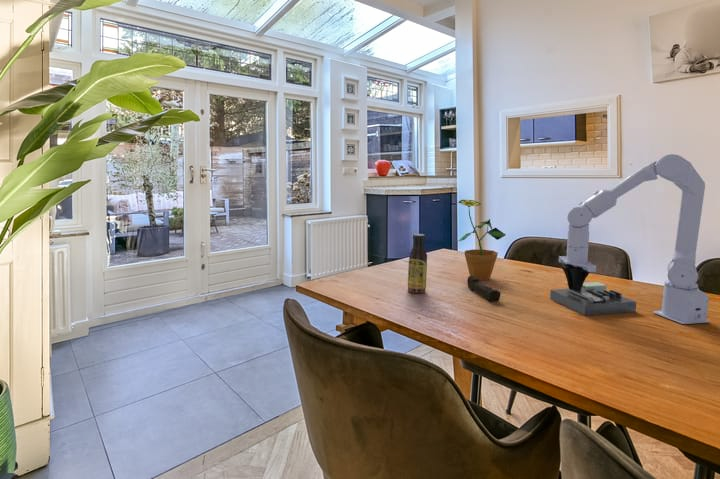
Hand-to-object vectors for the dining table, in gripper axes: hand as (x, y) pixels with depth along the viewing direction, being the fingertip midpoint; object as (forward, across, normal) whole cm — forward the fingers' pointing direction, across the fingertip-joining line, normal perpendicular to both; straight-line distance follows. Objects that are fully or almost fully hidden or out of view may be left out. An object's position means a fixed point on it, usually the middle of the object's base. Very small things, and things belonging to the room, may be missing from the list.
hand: (574, 289), depth 127 cm
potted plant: (+4, -34, -15) cm, 37 cm away
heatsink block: (+4, +4, +3) cm, 6 cm away
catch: (+1, 0, +6) cm, 6 cm away
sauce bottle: (+4, -21, -44) cm, 49 cm away
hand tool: (+4, -14, -25) cm, 29 cm away
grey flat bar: (+1, +4, 0) cm, 4 cm away
